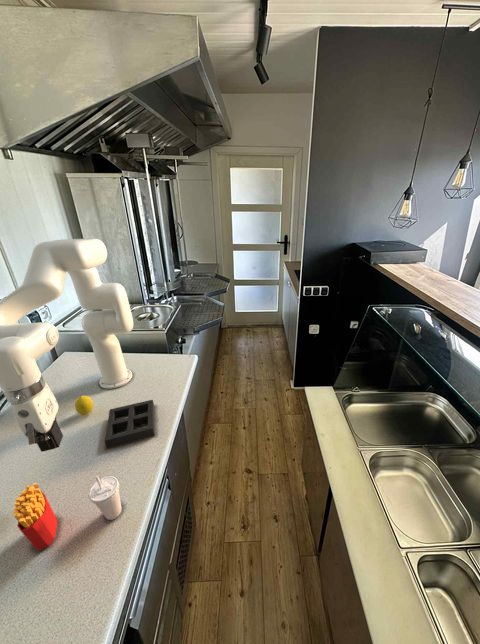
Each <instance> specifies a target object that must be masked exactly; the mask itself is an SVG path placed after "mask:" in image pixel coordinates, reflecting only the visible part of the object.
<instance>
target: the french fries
mask: <svg viewBox="0 0 480 644" xmlns="http://www.w3.org/2000/svg"><path fill="white" fill-rule="evenodd" d="M13 517H14V518H15V519H16V521H17V528H18V529H19V530H20V532H21V533H22V535H24V536H25V537H26V539H27V540H28V541H29V543H30V544H31V545H32V546H33V547H34V549H36V550H37V551H40V550H44V549H46V548H48V547H50V545H51V544H52V543H53V541H54V540H55V538H56V534H57V528H58V519H57V517H56V514H55V512H54V511H53V508H52V506H51V505H50V502H49V500H48V498H47V496H46V494H45V493H44V492H43V491H42V490H41V489H40V487H39V484H38V483H37V482H33V486H32V485H30V484H27V485H26V486H25V489H23V490H22V492H21V493H19V497H18V496H17V497H16V499H15V502H14V508H13Z"/></svg>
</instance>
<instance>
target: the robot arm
mask: <svg viewBox="0 0 480 644" xmlns="http://www.w3.org/2000/svg"><path fill="white" fill-rule="evenodd" d="M107 258H108V249H107V247H106V244H104V242H103V241H102V240H101V239H99V238H96V237H95V238H93V237H92V238H91V237H89V238H62V239H55V240H49V241H43V242H40V243H38V244H36V245H35V247H34V248H33V250H32V253H31V256H30V259H29V262H28V266H27V269H26V272H25V275H24V278H23V281H22V284H21V285H20V286H19V287H16V289H15V290H13V291H12V292H11V293H9V294H8V295H6V296H5V298H3V299H2V300H1V301H0V389H1V392H2V394H3V396H4V397H5V399H6V401H7V402H8V403H10V407H11V410H12V413H13V416H14V418H15V420H16V423H17V425H18V427H19V429H20V431H21V432H22V434H23V435H24V436H25V437H27V441H28V445H29V446H31V445H35V444H36V445H37V444H38V445H37V447H38V448H39V450H40V452H41V451H42V453H43V452H47V451H52V450H56V449H57V448H56V445H55V443H54V440H53V438H52V436H49V434H48V431H49V429H50V428H51V426H52V423H53V421H54V420H56V421H57V414H58V411H59V403H58V401H57V399H56V397H55V395H54V393H53V391H52V390H51V387H50V386H49V385H48V383H47V382H46V381H45V379H44V377H43V375H42V373H41V371H40V368H39V366H38V363H37V359H39V358H41V357H42V356H43V355H45V354H47V353H48V352H50V351H51V350H53V348H55V347H56V345H57V344H58V342H59V338H60V333H59V330H58V328H57V327H56V326H55V325H54V324H52V323H50V322H40V321H39V322H28V323H25V322H23V323H18V322H19V321H20V319H22V318H23V317H24V316H25V315H26V314H28V313H30V312H31V311H33V310H35V309H38V308H39V307H42V306H45V305H47V304H49V303H51V302H53V301H55V300H57V299H58V298H59V297H61V295H62V293H63V288H64V283H65V279H66V276H67V275H66V274H67V273H68V275H69V277H70V280H71V281H72V284H73V287H74V288H73V289H74V291H75V293H76V296H77V300H78V302H79V304H80V306H81V307H82V308H83V309H84V310H87V311H91V312H87V313H86V314H84V315H83V317H82V319H81V328H82V330H83V332H84V333H85V335H86V337H87V339H88V340H89V343H90V345H91V348H92V350H93V354H94V357H95V360H96V363H97V366H98V369H99V372H100V375H101V377H100V378H99V381H98V383H99V385H100V387H101V388H103V389H106V390H112V389H113V390H114V389H117V388H120V387H122V386H125V385H126V384H128V383H129V382H130V381H131V380H132V378H133V372H132V371H131V370H130V369H128V368H127V366H126V362H125V358H124V355H123V351H122V347H121V344H120V341H119V339H118V338H117V336H116V335H125V334H129V333H130V332H132V330H133V329H134V318H133V314H132V310H131V306H130V302H129V297H128V293H127V290H126V289H125V287H124V286H123V285H122V284H121V283H119V282H102V281H101V277H100V274H99V271H98V269H97V267H100V266H101V265H103V264H104V263H105V262H106V261H107ZM37 433H43V435H42V436H38V435H37Z"/></svg>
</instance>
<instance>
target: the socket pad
mask: <svg viewBox="0 0 480 644" xmlns="http://www.w3.org/2000/svg"><path fill="white" fill-rule="evenodd" d="M155 414H156V413H155V404H154V399H150V400H145V401H140V402H135V403H132V404H127V405H122V406H118V407H114V408H110V409H109V412H108V417H107V422H106V428H105V434H104V440H103V443H104V444H105V447H106V449H112V448H116V447H119V446H122V445H127V444H130V443H133V442H137V441H141V440H145V439H149V438H153V437H156V427H155V426H156V424H155V423H156V422H155V421H156V419H155V417H156V415H155ZM144 425H147V426H144ZM141 426H144V427H141ZM137 427H138V428H137ZM125 430H126V431H125ZM121 431H123V432H121ZM117 432H119V433H117Z"/></svg>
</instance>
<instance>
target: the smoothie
mask: <svg viewBox="0 0 480 644" xmlns="http://www.w3.org/2000/svg"><path fill="white" fill-rule="evenodd" d="M94 477H95V479H96V482H94V484H93V485H91V488H90V489H89V493H88V497H89V501H90V502H91V503H92V504H94V505H96V507H97V508H98V509H99V511H100V513H102V515H103V516H104V517H105V519H106V520H108V521H112V520H115V519H117V518H118V517H119V516H120V514H121V512H122V503H121V497H120V491H119V490H120V489H119V488H120V483H119V482H120V481H118V479H117V478H116V477H115V476H112V475H109V476H104V477H102V478H100V477H99V475H98V474H97V475H95V476H94Z"/></svg>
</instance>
